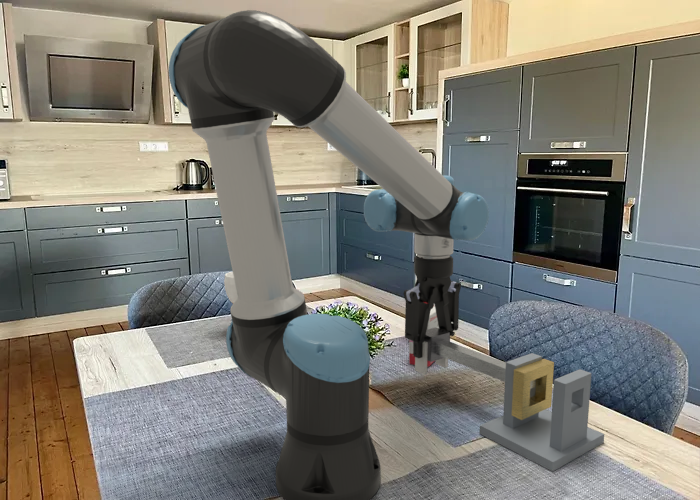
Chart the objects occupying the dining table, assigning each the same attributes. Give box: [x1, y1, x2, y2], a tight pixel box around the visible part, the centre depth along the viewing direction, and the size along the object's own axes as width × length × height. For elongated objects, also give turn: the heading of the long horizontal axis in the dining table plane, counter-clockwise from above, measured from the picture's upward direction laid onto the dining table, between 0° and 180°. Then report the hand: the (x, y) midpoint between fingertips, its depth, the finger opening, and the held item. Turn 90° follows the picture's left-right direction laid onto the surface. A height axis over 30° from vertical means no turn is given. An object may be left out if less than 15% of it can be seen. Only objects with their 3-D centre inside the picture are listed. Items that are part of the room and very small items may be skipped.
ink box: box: [408, 305, 439, 368], centre depth 126 cm, size 9×5×12 cm, turn 150°
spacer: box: [512, 358, 555, 420], centre depth 92 cm, size 8×2×8 cm, turn 126°
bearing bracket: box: [479, 352, 605, 472], centre depth 91 cm, size 14×14×12 cm
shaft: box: [418, 327, 536, 389], centre depth 103 cm, size 5×25×5 cm, turn 36°
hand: (431, 368), depth 112 cm, fingers closed on shaft, 5 cm apart
